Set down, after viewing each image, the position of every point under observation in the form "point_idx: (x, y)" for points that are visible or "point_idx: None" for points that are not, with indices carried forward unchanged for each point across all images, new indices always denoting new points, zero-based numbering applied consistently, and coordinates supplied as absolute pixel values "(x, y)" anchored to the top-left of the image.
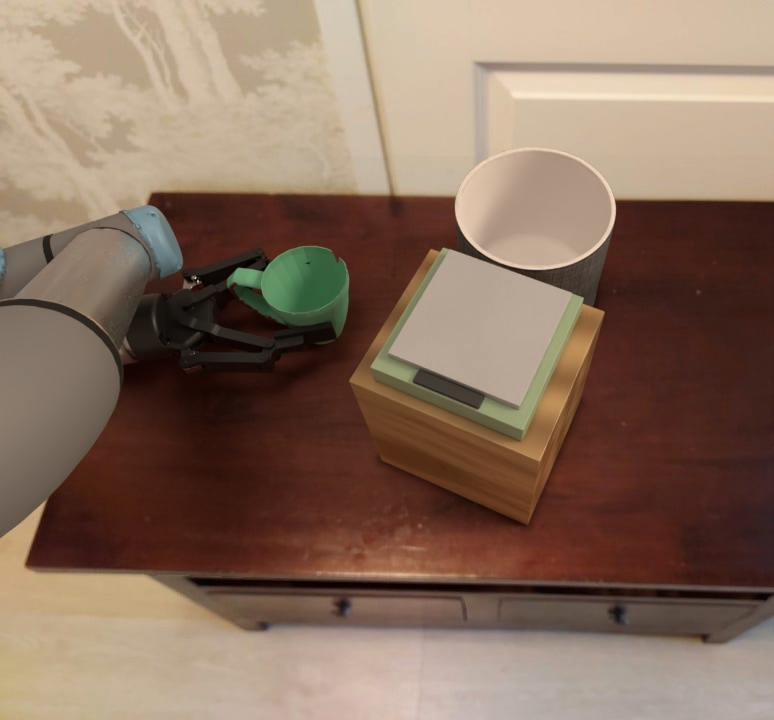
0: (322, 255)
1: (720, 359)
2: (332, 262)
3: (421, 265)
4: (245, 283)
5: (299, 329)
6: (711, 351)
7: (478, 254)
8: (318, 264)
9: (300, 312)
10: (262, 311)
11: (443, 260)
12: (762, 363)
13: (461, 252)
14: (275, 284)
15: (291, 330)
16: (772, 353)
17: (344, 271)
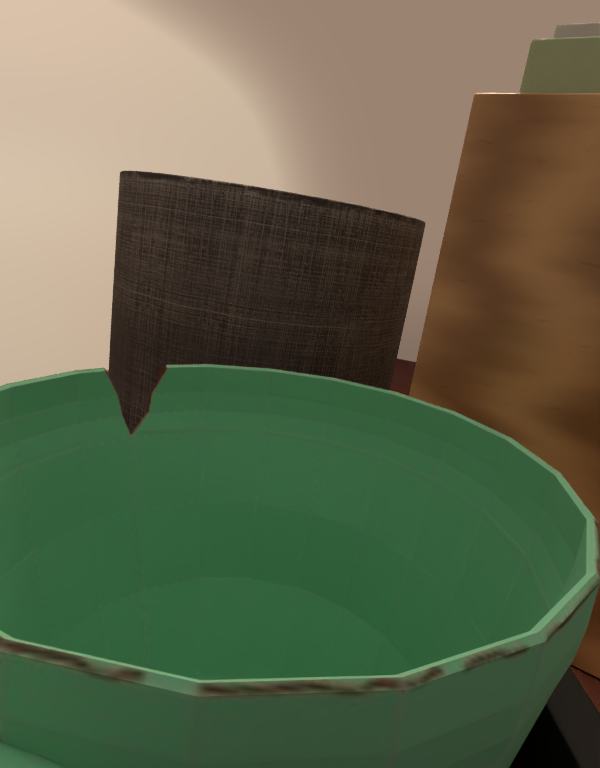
0: (44, 443)
1: (403, 390)
2: (101, 456)
3: (537, 93)
4: None
5: (559, 687)
6: (393, 390)
7: (374, 221)
8: (21, 536)
9: None
10: None
11: (596, 23)
12: (409, 380)
13: (293, 287)
14: None
15: (585, 744)
16: (396, 375)
17: (200, 431)
